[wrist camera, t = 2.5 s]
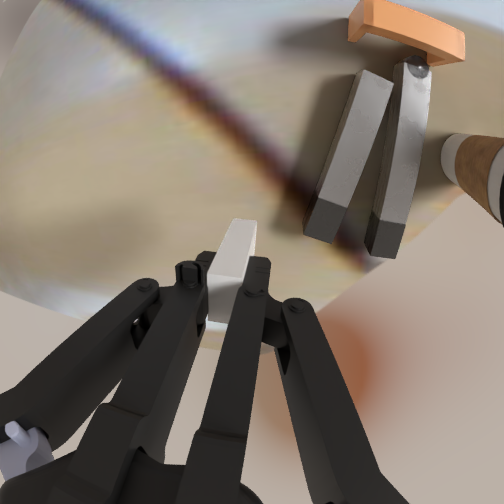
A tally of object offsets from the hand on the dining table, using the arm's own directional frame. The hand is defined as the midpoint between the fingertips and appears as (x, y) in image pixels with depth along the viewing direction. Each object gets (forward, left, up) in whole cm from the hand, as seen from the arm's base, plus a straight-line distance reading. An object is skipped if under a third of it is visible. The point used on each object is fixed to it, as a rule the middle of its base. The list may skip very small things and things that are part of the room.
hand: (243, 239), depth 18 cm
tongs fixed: (-6, +14, -12) cm, 19 cm away
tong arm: (-5, +8, -12) cm, 15 cm away
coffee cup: (-7, +22, -13) cm, 26 cm away
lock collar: (-18, +12, -12) cm, 25 cm away
